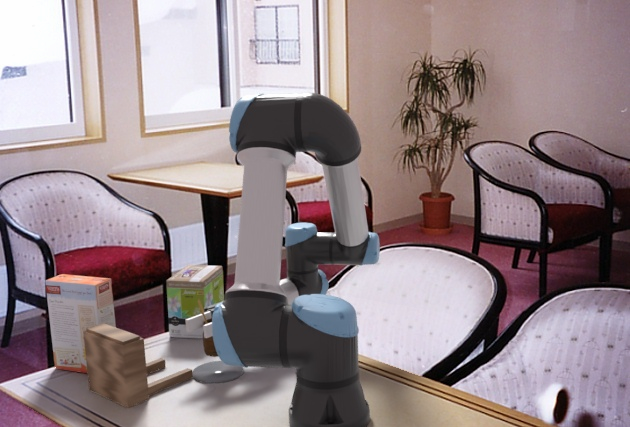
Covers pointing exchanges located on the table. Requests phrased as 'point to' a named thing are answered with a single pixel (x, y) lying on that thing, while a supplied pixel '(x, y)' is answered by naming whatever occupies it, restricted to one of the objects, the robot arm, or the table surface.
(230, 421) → the table surface
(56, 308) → the cracker box
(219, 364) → the plate
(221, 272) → the tea box
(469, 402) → the table surface
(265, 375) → the table surface
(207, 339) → the utensil holder
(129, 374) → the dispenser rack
